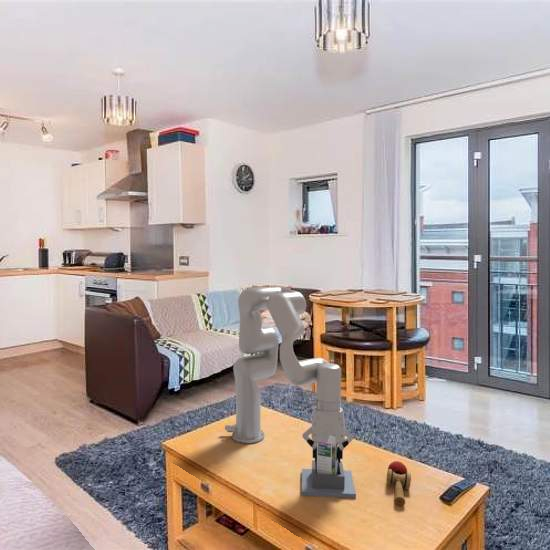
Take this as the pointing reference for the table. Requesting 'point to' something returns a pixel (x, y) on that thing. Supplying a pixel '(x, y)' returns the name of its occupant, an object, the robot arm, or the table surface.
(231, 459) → the table surface
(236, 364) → the robot arm
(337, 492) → the socket board
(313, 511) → the table surface
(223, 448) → the table surface
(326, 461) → the syrup box
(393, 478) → the kendama
